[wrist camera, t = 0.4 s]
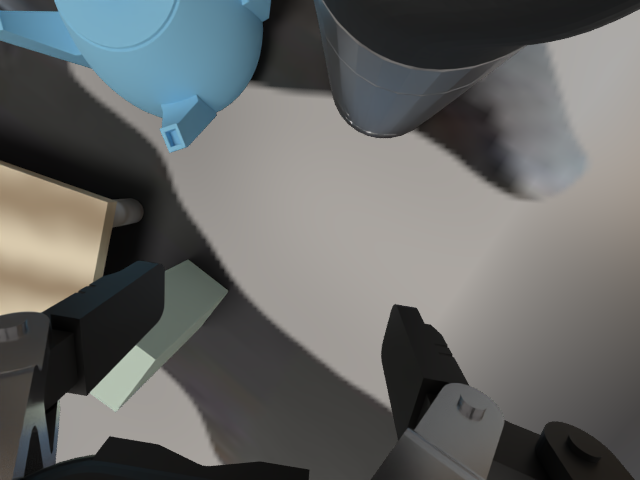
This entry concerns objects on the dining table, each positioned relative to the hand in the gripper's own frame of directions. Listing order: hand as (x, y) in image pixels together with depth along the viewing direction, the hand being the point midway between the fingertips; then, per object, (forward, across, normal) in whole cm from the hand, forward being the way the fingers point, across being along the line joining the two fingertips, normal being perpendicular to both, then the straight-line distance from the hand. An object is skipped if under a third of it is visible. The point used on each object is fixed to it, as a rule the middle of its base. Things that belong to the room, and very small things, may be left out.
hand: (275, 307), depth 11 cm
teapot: (+21, +13, -12) cm, 27 cm away
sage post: (+18, +10, +11) cm, 23 cm away
